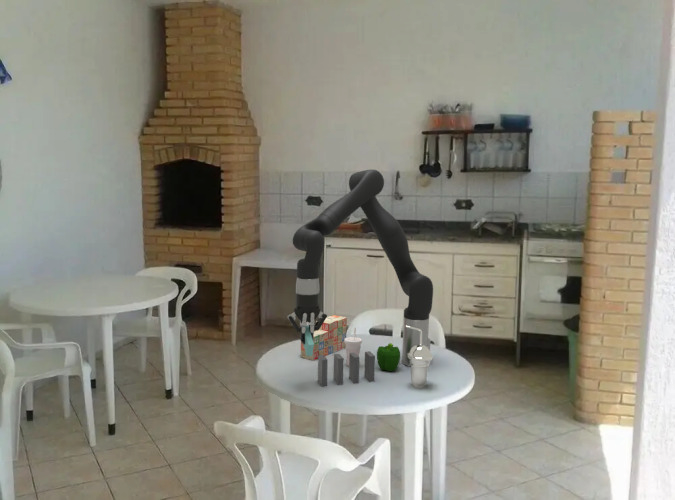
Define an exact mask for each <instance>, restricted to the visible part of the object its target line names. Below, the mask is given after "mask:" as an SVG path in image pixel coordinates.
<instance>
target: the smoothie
mask: <svg viewBox="0 0 675 500" xmlns="http://www.w3.org/2000/svg"><path fill="white" fill-rule="evenodd" d="M356 332H357V331H356V327H354V328H353V336H348V337H347V336H346V338H345V339H344V342H345V347H346V348H345V355H346V356H345V358H346V364H347V365H346V366H348V367H349V356H350V353H356V354H357V355H358V356H359V357H360V352H361V345H362V343H363V340H362V338H360V337H356Z"/></svg>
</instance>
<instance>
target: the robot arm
mask: <svg viewBox="0 0 675 500" xmlns="http://www.w3.org/2000/svg"><path fill="white" fill-rule="evenodd" d="M348 186H349V187H348V188H349V190H350V191H349V192H348V193H346V194H345V195H344V196H342V197H341V198H339V199H337V200H336V201H335V202H333V203H331V204H330V205H328V206H327V207H326V208H324V210H323V211H322V212H320V214H319V215H317V217H316V218H314V219H312V220H310V221H309V222H307V223H305V224H304V225H301V227H299V228H298V229H297V230H296V231H295V232H294V234H293V237H292V245H293V247H294V248H295V249H297V250H298V251H302V252H303V251H304V252H305V255H304V258H300V259H298V260H297V263H296V282H295V308H294V311H293V312H292V313H290V314H287V316H286V318H287V319H288V320H289V322H290V324H291V326H292V327H293V329H294V330H295V331H296V332H297V333H298V332H299V333H300V336H299V339H300V343H301V342H302V343H303V344H305V327H306V325H307V324H308V327H309V330H310V333H311V336H312V339H313V338H314V331H316V330H317V331H318V330H319V329H320V327H321V326H322V324H323V322H324V321H325V319H326V318H327V317H328V315H327V314H326V313H325V312H323V311H321V309H320V306H319V305H320V290H321V289H320V277H319V276H320V273H319V272H320V271H319V270H320V262H321V260H322V256H323V252H324V248H325V239H324V237H325V236H326V237H327V236H328V235H329V236H330V235H331V234H332V233H334V231H335V230H336V229H338V227H340V226H341V224H343V222H345V221H346V220H347V218H349V217H350V216H352V214H353V213H355V212H356V211H357V210H358V209H360V208H361V210H362V211H363V213H364V215H365V216H366V219H367V221H368V222H369V224H370V226H371V228H372V230H373V231H374V234H375V235H376V238H377V240H378V242H379V245H380V246H381V248H382V250H383V251H384V253H385V255H386V256H387V258H388V260H389V262H390V263H391V265H392V267H393V269H394V272H395V274H396V276H397V279H398V282H399V285H400V287H401V289H402V291H403V293H404V294H405V295H406V296H408V305H407V307H405V308H404V309H403V320H402V321H403V322H402V323H403V324H402V327H403V328H402V345H401V346H402V350H401V352H402V353H401V363H402V364H403V365H405V366H408V367H411V366H410V362H409V358H408V357H407V355H408V353H409V352H410V350H411V348H412V347H413V346H415V345H418V344H420V331H418V330H414V329H410V328H407V327H406V325H407V326H411V327H415V328H419V329H421V330H422V345H425V346H426V347H427V348H428V349H429V350H430V351H431V338H430V337H429V329H430V313H431V311H432V308H433V298H434V285H433V281H432V279H431V278H430V277H428V276H426V275H425V274H422V273H420V272H419V270H418V268H417V267H416V265H415V263H414V262H413V260H412V257H411V255H410V247H409V242H408V239H407V236H406V233H405V231H404V230H403V227H402V226H401V224H400V223H399V221H398V220H397V219H396V218H395V217H394V216H393V214H391V213H390V212H389V211H387V210H386V209H385V208H384V207H383V206H382V205H381V203H380V202H379V200H378V199H377V196H378V195H379V194H381V192H382V191H383V188H384V186H385V179H384V176H383V174H382V173H381V172H380V171H379V170H377V169H365V170H361V171H360V170H359V171H357V172H354V173H352V174H351V175H350V176H349V180H348ZM317 318H318V319H317ZM296 319H298V320H299V326H298V324H297V322H296V321H295V320H296ZM316 319H317V320H316ZM315 320H316V321H317V322H316V321H315Z"/></svg>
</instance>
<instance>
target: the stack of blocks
mask: <svg viewBox="0 0 675 500" xmlns="http://www.w3.org/2000/svg"><path fill="white" fill-rule="evenodd" d="M317 321H318V320H316V321H315V323H316V322H317ZM347 321H348V317H345V316H340V315H334V314H333V315H331V316H330V315H329V316H327V318H326V319H325V321H324V322H323V324H322V326H321V327H320V329H319V330H318V331H317V330H316V331H314V338H313V342H314V348H313V354H312V356H307V355H306V352H305V349H304V345H303V343H302V342H301V341H300V358H302V359H307V360H311V361H315V360H318V355H324V356H325V357H326V356H328V355H330V354H332V353H335V352H338V351H340V350H343V349H346V347H345V342H344V339H345V338H347V332H348V331H347V330H348V325H347V324H348V322H347Z"/></svg>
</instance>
